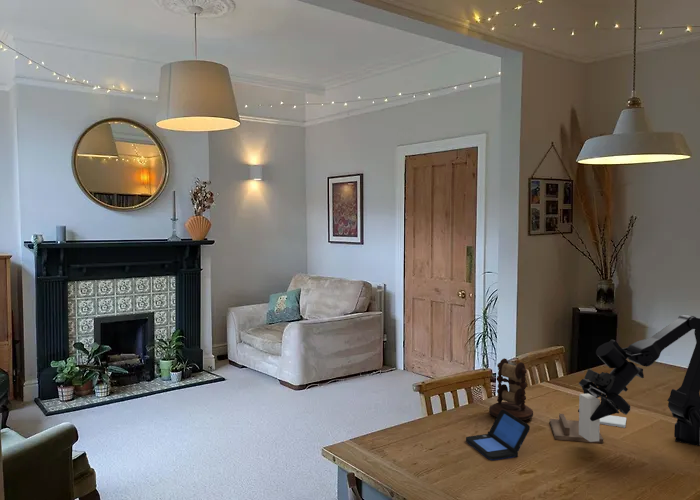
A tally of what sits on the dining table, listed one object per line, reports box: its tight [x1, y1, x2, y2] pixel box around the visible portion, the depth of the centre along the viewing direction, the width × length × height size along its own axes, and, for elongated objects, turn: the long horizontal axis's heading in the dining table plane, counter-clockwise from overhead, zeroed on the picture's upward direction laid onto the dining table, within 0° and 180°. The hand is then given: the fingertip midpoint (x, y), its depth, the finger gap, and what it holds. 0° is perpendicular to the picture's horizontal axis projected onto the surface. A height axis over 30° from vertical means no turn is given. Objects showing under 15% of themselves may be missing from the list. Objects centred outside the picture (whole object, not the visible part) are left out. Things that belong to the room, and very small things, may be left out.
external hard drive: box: [600, 414, 627, 429], centre depth 194 cm, size 2×8×12 cm
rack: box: [549, 413, 604, 444], centre depth 184 cm, size 14×15×4 cm
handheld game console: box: [465, 410, 531, 461], centre depth 172 cm, size 16×13×9 cm
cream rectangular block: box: [578, 393, 601, 443], centre depth 171 cm, size 3×6×12 cm, turn 9°
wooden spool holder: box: [488, 358, 534, 421], centre depth 198 cm, size 15×15×20 cm
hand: (584, 416), depth 170 cm, fingers closed on cream rectangular block, 6 cm apart
